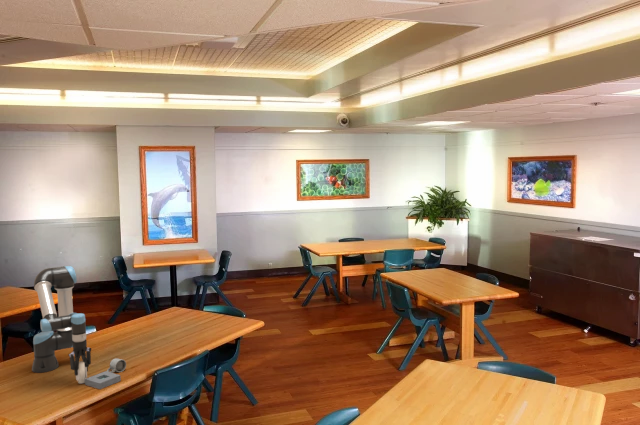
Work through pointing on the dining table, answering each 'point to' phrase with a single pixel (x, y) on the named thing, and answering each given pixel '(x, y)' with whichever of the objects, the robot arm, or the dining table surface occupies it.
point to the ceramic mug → (117, 365)
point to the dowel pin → (82, 372)
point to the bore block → (102, 380)
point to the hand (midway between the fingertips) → (81, 378)
